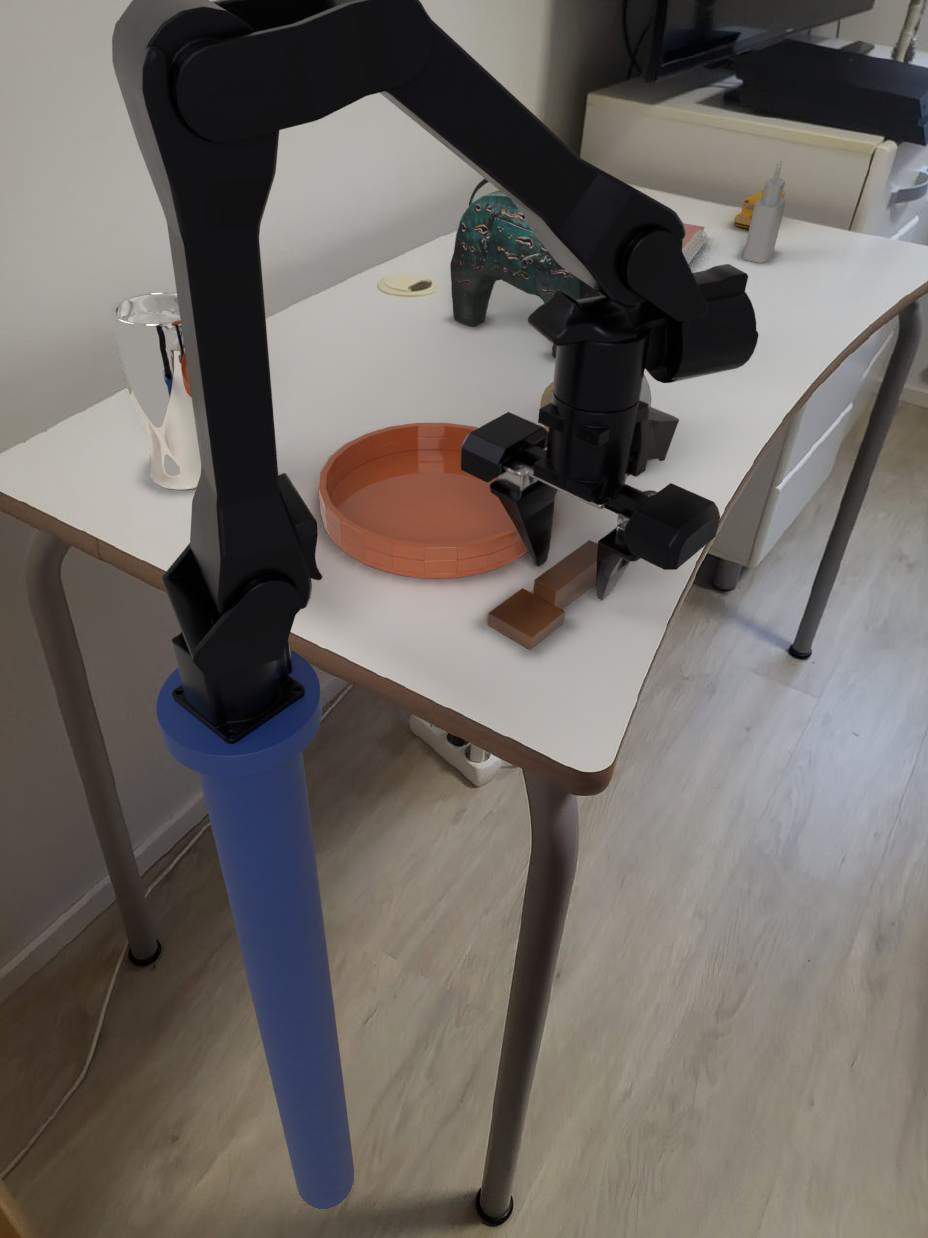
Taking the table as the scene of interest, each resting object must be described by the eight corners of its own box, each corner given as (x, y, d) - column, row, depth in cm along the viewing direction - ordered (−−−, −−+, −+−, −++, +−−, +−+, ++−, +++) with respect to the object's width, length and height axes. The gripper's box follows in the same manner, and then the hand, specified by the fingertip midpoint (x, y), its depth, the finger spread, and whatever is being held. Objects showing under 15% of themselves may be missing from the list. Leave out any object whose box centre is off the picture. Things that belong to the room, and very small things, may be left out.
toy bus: (731, 227, 139) (737, 199, 136) (761, 212, 144) (767, 185, 142) (751, 232, 137) (757, 204, 135) (780, 216, 143) (787, 190, 140)
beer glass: (202, 443, 87) (174, 283, 77) (240, 475, 83) (216, 310, 73) (131, 467, 83) (93, 302, 74) (167, 502, 79) (132, 333, 70)
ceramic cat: (611, 357, 104) (638, 162, 91) (578, 376, 100) (602, 176, 87) (472, 307, 113) (478, 124, 100) (437, 323, 109) (439, 135, 96)
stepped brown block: (617, 580, 73) (621, 555, 71) (530, 650, 67) (532, 624, 65) (575, 559, 75) (579, 534, 73) (487, 625, 69) (488, 598, 67)
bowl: (442, 611, 70) (443, 580, 68) (274, 511, 79) (270, 480, 77) (592, 507, 81) (596, 477, 79) (429, 429, 90) (429, 401, 88)
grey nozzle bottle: (774, 251, 131) (797, 159, 123) (763, 263, 127) (785, 168, 120) (752, 247, 132) (773, 155, 124) (741, 258, 128) (762, 164, 121)
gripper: (783, 398, 61) (732, 584, 72) (556, 315, 70) (539, 491, 81) (696, 462, 55) (653, 657, 65) (458, 362, 64) (453, 547, 74)
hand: (571, 579), depth 71 cm, fingers open, 6 cm apart
